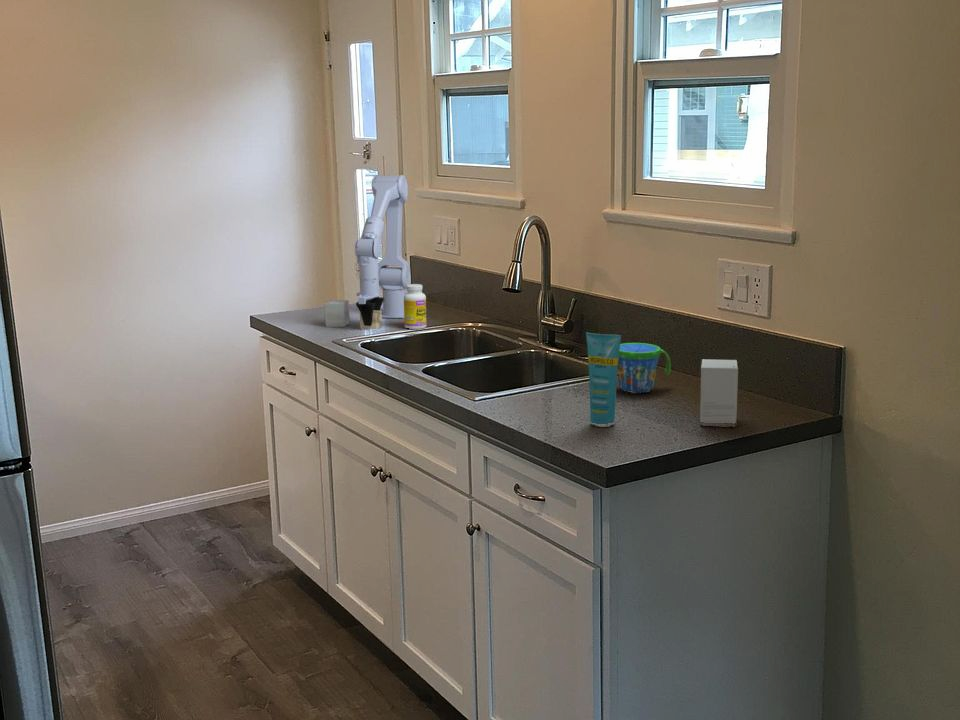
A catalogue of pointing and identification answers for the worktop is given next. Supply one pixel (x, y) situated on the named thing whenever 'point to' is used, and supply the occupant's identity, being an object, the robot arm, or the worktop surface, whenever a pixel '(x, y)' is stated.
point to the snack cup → (639, 366)
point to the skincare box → (337, 313)
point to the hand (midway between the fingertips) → (371, 323)
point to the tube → (603, 376)
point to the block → (373, 321)
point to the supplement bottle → (415, 307)
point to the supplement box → (719, 391)
